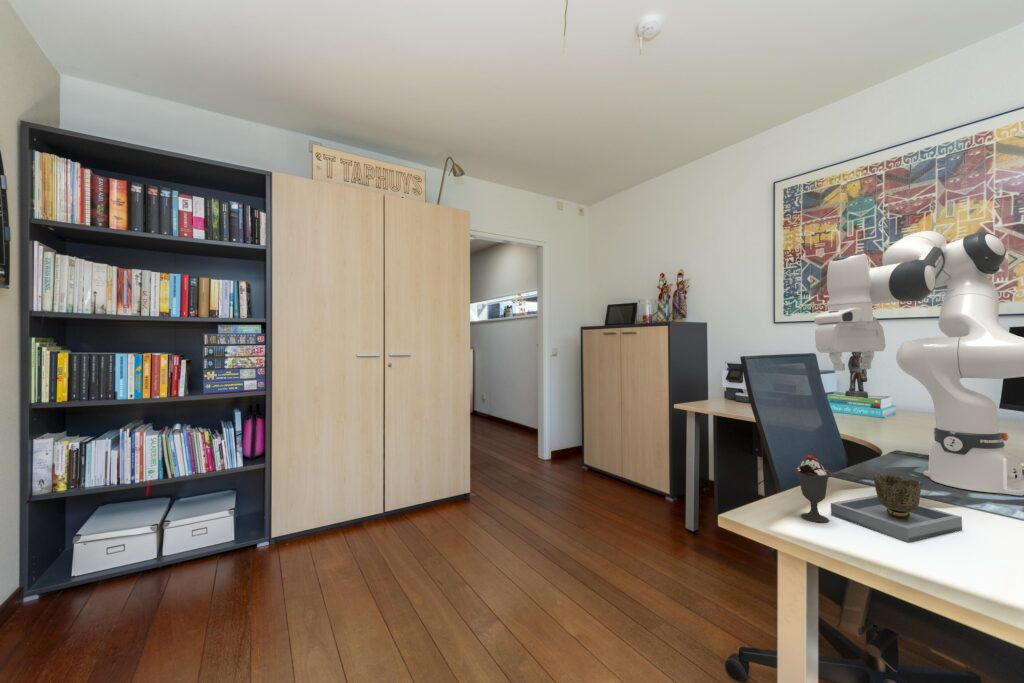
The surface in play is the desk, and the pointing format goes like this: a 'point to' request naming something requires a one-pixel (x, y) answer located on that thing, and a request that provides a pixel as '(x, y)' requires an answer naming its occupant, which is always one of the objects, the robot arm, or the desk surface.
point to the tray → (909, 530)
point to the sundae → (813, 486)
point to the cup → (898, 494)
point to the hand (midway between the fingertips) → (852, 370)
